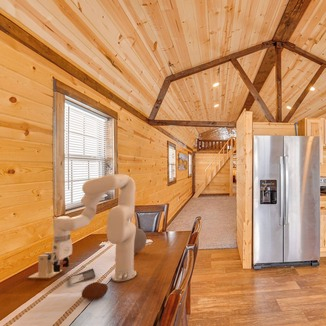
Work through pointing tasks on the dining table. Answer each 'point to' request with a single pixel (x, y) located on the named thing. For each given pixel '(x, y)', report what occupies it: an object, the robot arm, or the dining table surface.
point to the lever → (56, 260)
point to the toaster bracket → (44, 267)
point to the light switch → (86, 275)
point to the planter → (139, 240)
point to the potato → (94, 291)
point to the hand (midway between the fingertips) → (61, 268)
